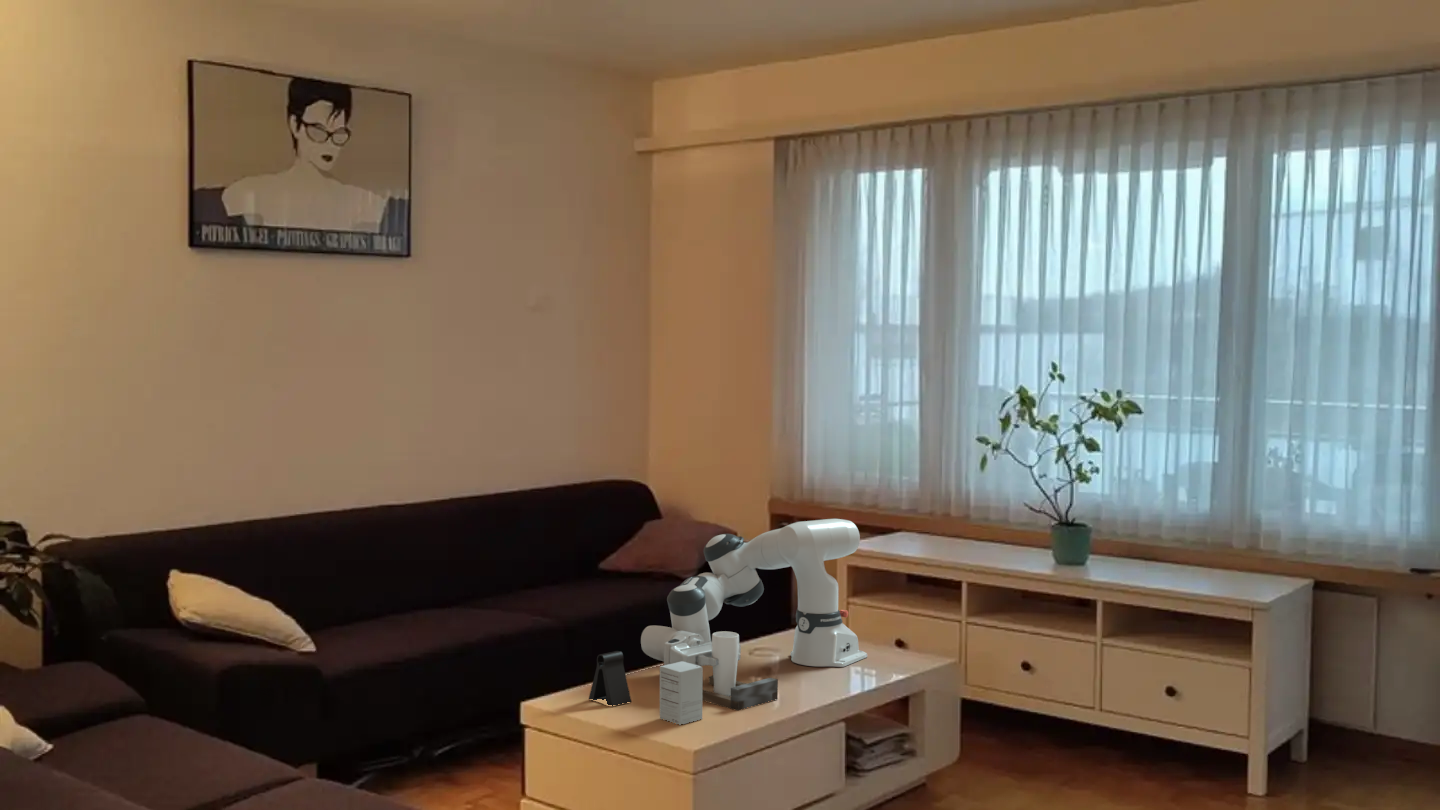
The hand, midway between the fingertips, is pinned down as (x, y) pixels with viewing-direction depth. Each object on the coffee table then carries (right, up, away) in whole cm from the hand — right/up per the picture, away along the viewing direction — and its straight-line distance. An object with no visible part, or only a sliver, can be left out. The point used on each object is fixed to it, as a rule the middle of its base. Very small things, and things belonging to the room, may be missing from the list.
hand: (727, 659), depth 335 cm
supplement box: (-11, -11, -19) cm, 24 cm away
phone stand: (-29, -10, -4) cm, 31 cm away
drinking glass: (-1, -9, +1) cm, 9 cm away
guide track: (0, -9, +2) cm, 9 cm away
